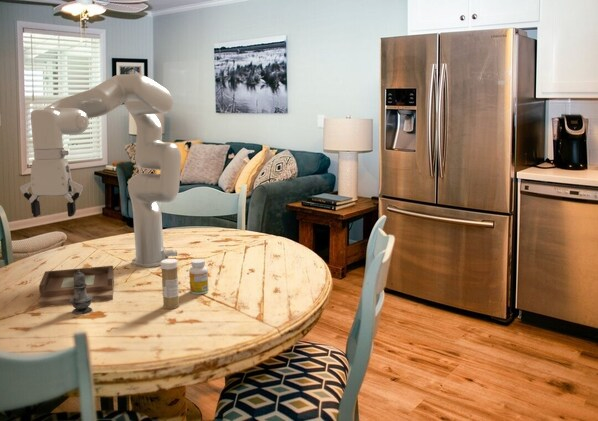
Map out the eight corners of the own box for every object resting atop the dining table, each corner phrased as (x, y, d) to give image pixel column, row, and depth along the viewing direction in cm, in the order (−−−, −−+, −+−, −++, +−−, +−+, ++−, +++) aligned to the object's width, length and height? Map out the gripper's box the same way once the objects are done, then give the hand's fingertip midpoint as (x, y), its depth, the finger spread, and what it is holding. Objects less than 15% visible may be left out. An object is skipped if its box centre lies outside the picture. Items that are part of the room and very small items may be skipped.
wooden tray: (114, 280, 190) (112, 265, 189) (112, 299, 173) (111, 283, 172) (46, 286, 184) (45, 271, 183) (38, 306, 167) (37, 290, 166)
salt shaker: (86, 315, 161) (82, 273, 158) (66, 314, 162) (62, 272, 159) (97, 307, 166) (94, 266, 164) (78, 306, 167) (74, 265, 165)
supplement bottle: (191, 289, 181) (189, 258, 179) (209, 288, 181) (207, 257, 179) (189, 295, 176) (188, 263, 174) (207, 294, 176) (206, 263, 174)
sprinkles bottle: (163, 304, 169) (160, 258, 166) (179, 303, 169) (177, 257, 167) (162, 310, 164) (160, 263, 161) (179, 308, 165) (177, 262, 162)
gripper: (85, 153, 166) (89, 213, 170) (23, 153, 166) (29, 213, 170) (75, 156, 159) (80, 218, 162) (10, 156, 159) (17, 218, 162)
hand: (54, 215), depth 166 cm, fingers open, 9 cm apart
